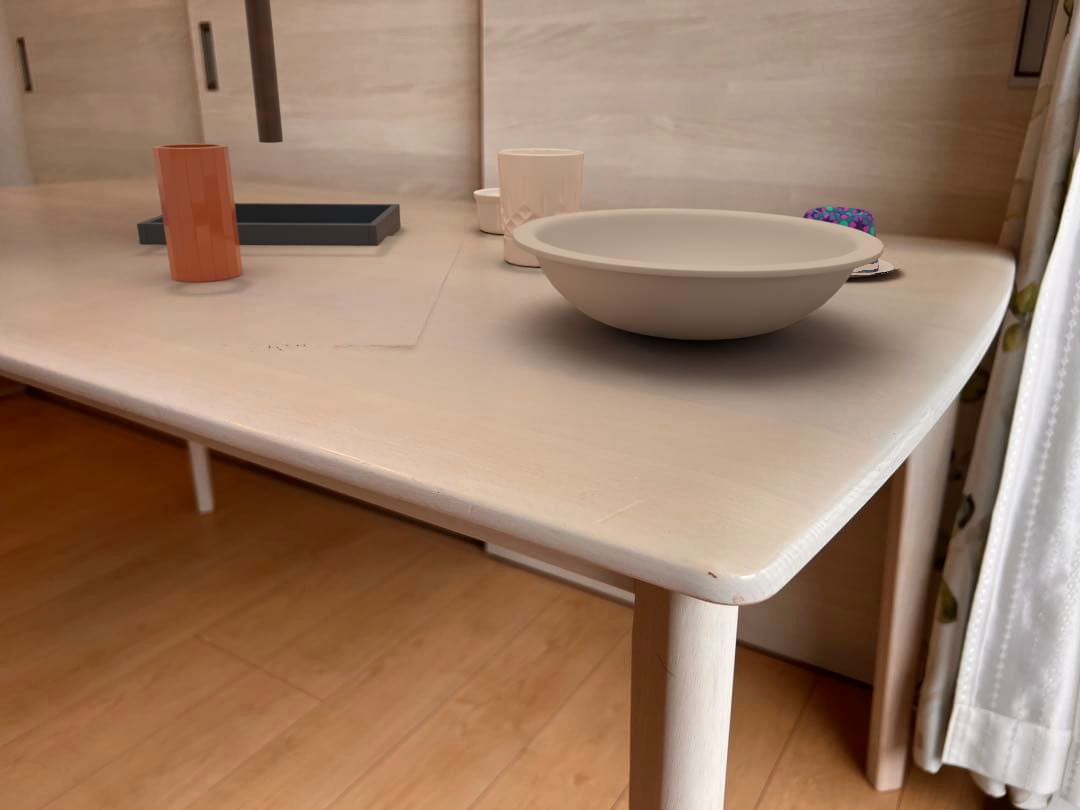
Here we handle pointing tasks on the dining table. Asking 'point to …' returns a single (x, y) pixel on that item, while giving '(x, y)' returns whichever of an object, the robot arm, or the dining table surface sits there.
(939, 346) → the dining table surface
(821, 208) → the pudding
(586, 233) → the soup bowl
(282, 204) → the tray
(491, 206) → the ramekin
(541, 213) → the white cup
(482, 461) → the dining table surface
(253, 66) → the stick
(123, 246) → the dining table surface
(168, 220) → the crock
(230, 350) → the dining table surface
